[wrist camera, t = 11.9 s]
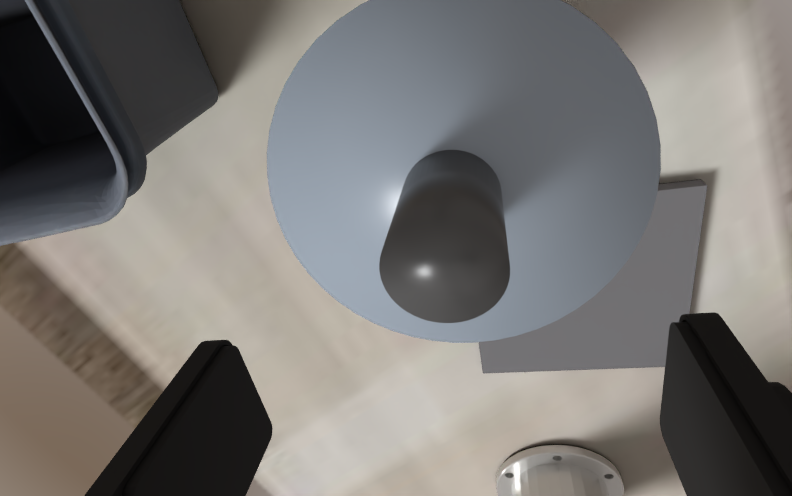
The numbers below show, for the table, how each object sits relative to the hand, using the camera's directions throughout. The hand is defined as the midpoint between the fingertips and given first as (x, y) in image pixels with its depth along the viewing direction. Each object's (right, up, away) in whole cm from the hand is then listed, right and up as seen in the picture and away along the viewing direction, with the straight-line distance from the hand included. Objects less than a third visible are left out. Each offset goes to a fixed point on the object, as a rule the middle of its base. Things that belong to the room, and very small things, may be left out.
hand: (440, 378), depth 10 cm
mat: (+13, 0, +27) cm, 30 cm away
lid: (+1, +5, +8) cm, 9 cm away
